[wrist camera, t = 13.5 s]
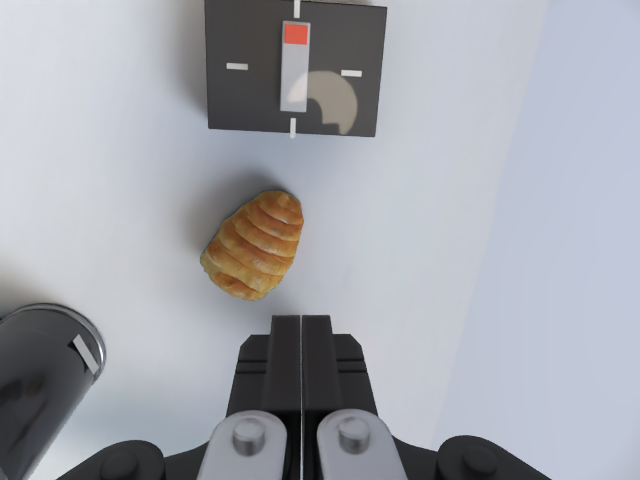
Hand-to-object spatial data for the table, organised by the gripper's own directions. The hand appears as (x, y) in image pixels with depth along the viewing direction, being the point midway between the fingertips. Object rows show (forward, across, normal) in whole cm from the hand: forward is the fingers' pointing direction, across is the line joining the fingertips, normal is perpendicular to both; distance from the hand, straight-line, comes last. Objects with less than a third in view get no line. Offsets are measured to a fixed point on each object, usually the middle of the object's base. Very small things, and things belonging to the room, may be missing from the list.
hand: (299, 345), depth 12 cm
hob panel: (+25, 0, -7) cm, 26 cm away
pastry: (+26, +4, +6) cm, 27 cm away
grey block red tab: (+22, 0, -7) cm, 24 cm away
